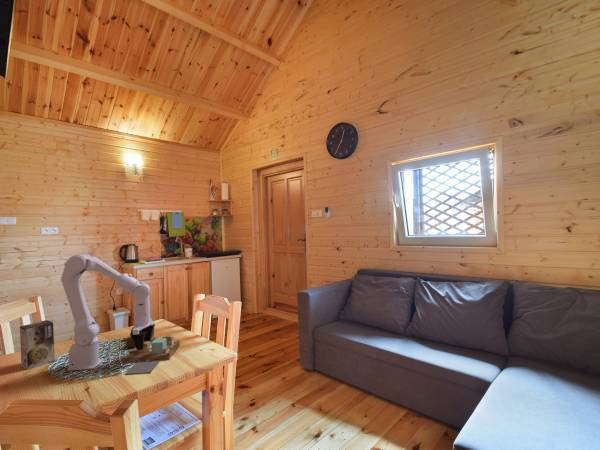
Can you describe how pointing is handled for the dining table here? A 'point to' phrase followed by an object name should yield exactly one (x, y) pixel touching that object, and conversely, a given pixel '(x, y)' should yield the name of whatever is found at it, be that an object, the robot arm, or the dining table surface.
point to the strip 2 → (168, 340)
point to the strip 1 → (147, 350)
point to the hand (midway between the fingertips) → (143, 345)
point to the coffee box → (37, 344)
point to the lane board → (136, 357)
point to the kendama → (131, 343)
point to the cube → (158, 346)
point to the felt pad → (142, 368)
